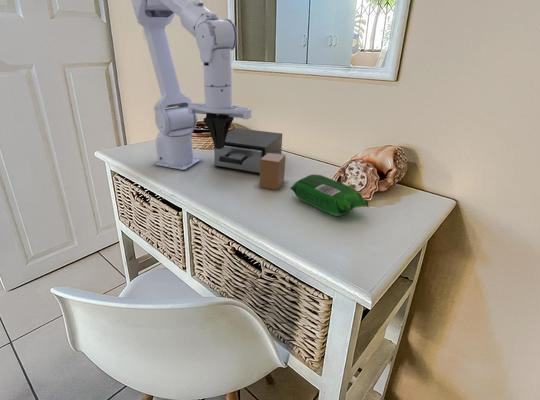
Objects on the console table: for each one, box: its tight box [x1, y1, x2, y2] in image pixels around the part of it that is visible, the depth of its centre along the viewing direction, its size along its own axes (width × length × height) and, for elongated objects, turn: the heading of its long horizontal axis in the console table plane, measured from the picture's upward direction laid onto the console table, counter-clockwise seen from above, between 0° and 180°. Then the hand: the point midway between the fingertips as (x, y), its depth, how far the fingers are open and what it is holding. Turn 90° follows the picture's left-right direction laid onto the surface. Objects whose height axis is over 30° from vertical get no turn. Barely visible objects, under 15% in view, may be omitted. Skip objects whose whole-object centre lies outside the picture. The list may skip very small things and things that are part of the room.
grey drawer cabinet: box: [214, 127, 283, 175], centre depth 92 cm, size 13×14×7 cm
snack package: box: [290, 173, 370, 217], centre depth 69 cm, size 7×16×5 cm, turn 35°
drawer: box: [213, 144, 263, 173], centre depth 89 cm, size 17×13×6 cm
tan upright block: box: [259, 153, 286, 191], centre depth 78 cm, size 4×5×7 cm
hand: (219, 147), depth 75 cm, fingers closed
